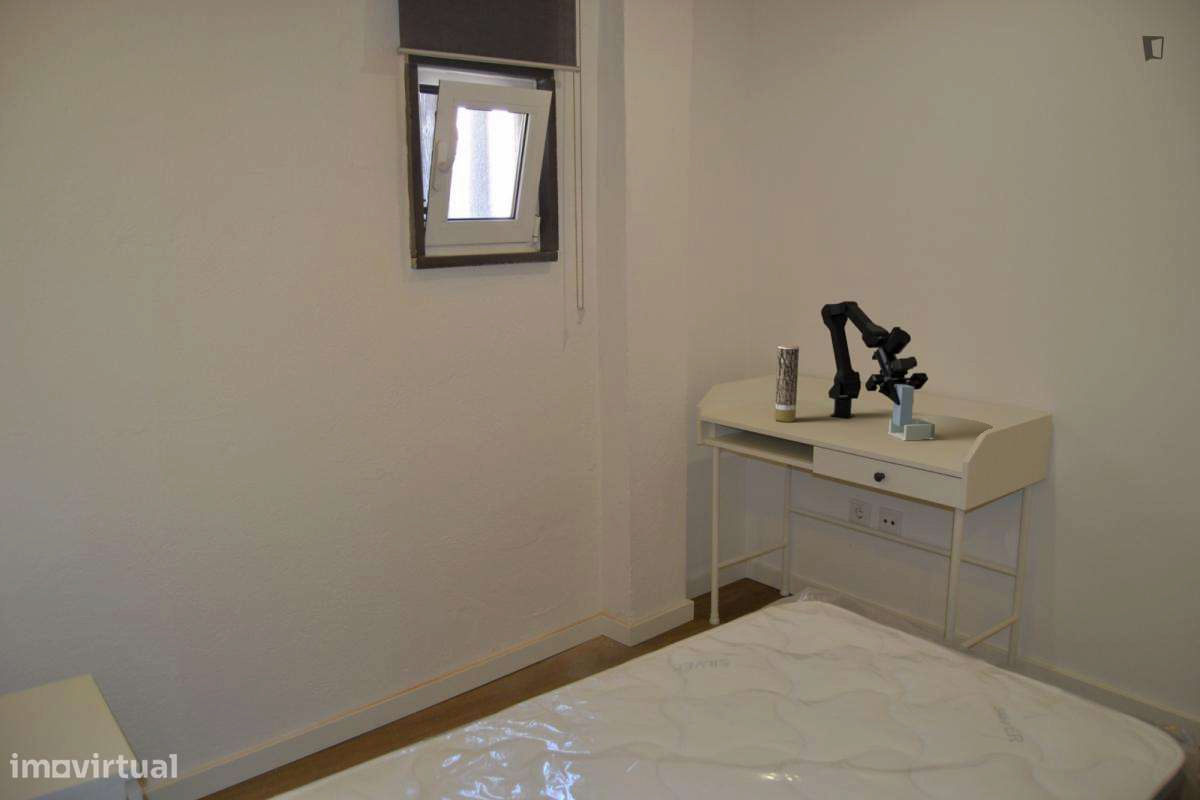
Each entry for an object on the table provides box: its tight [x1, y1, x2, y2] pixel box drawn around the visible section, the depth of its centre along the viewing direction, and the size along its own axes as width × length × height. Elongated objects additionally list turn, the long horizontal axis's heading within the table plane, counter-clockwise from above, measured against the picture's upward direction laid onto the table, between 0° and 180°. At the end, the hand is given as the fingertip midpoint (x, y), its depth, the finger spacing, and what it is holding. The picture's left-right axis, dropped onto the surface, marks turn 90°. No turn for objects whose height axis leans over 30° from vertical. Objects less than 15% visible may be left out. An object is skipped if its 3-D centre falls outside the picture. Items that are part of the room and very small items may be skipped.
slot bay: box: [887, 417, 936, 442], centre depth 269 cm, size 10×9×5 cm
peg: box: [892, 385, 915, 426], centre depth 267 cm, size 4×4×12 cm
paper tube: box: [774, 344, 800, 423], centre depth 289 cm, size 7×7×25 cm
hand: (905, 404), depth 265 cm, fingers closed on peg, 4 cm apart
